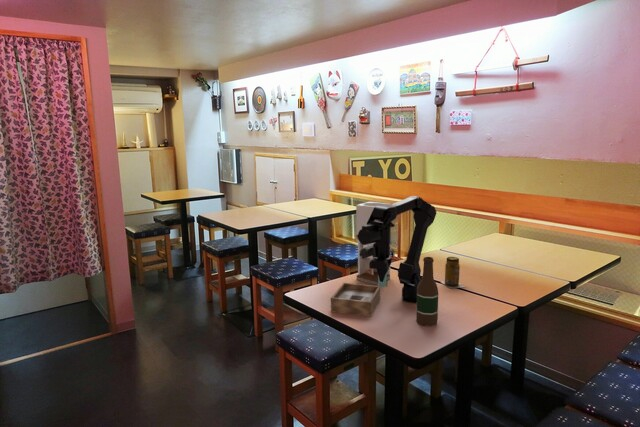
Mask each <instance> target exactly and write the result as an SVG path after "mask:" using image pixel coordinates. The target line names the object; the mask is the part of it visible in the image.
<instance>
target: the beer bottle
mask: <svg viewBox="0 0 640 427" xmlns="http://www.w3.org/2000/svg"><path fill="white" fill-rule="evenodd" d="M422 261H423V267H422V268H423V269H422V276H421V277H422V279H421V281H420V282H419V284H418V286H417V302H416V314H415V315H416V323H417V324H418V325H420V326H422V327H433V326H435V325H437V324H438V319H439V318H438V316H439V287H438V285H437V282H436V281H435V278H434V257H431V256H425V257H423V259H422Z"/></svg>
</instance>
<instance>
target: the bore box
mask: <svg viewBox="0 0 640 427" xmlns="http://www.w3.org/2000/svg"><path fill="white" fill-rule="evenodd" d="M380 300H381V287H380V286H378V285H370V284H362V283H361V284H359V283H351V282H350V283H349V282H343V283H342V284H341V285H340V286H339V287H338V288H337V290H336V291H335V292H334V293H333V294H332V296H331V297H330V312H332V313H338V312H340V313H339V314H347V313H349V314H348V315H355V314H356V315H358V316H363V317H364V316H365V317H372V315H373V313H374V312H375V310H376V308H377V306H378V305H379V302H380Z"/></svg>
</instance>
